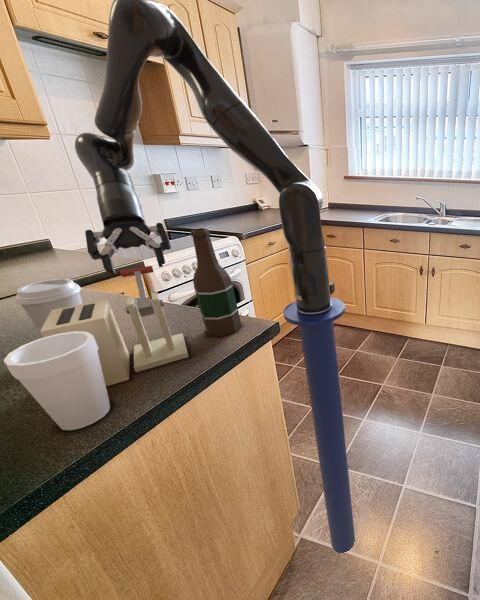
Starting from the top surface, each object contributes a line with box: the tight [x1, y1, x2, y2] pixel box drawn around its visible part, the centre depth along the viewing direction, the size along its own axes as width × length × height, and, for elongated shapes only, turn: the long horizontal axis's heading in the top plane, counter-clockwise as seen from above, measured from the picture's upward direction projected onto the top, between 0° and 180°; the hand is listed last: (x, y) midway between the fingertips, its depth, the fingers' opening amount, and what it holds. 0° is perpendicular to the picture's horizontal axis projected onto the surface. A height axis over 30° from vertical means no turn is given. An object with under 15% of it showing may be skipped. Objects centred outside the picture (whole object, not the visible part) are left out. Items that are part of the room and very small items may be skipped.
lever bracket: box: [124, 291, 190, 373], centre depth 69 cm, size 10×9×13 cm
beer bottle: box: [190, 227, 242, 337], centre depth 76 cm, size 8×8×24 cm
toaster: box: [39, 299, 131, 387], centre depth 62 cm, size 10×8×13 cm
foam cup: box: [3, 331, 111, 431], centre depth 52 cm, size 10×9×13 cm
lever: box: [120, 265, 156, 317], centre depth 69 cm, size 13×6×2 cm, turn 37°
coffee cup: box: [14, 277, 84, 335], centre depth 70 cm, size 10×10×15 cm
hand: (137, 268), depth 73 cm, fingers open, 8 cm apart
